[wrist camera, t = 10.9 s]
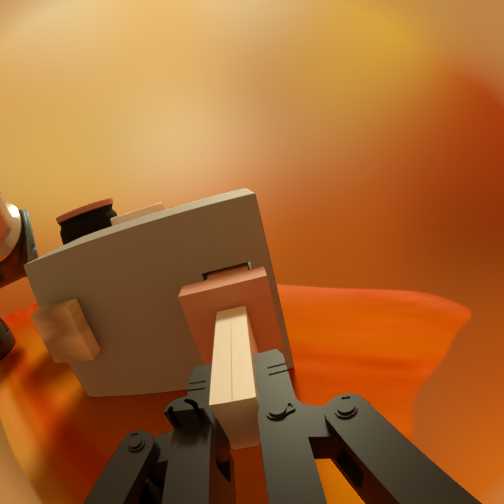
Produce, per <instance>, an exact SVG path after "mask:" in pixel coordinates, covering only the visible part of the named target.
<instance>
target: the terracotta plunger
mask: <svg viewBox="0 0 504 504" xmlns="http://www.w3.org/2000/svg"><path fill="white" fill-rule="evenodd" d="M178 298H179V301H180V303H181V306H182V309H183V312H184V314H185V317H186V320H187V322H188V325H189V327H190V330H191V333H192V335H193V338H194V340H195V343H196V345H197V348H198V350H199V352H200V355H201V357H202V360H203V362H204V364H205V365H208V364H212V359H213V348H214V336H215V326H216V315H217V312H219V311H224V310H228V309H232V308H237V307H241V306H245V307H246V310H247V314H248V317H249V321H250V324H251V328H252V331H253V335H254V338H255V342H256V345H257V350H258V353H262V352H266V351H270V350H274V349H277V350H278V351H280V350H284V347H283V342H282V338H281V334H280V329H279V325H278V321H277V316H276V312H275V308H274V303H273V299H272V295H271V290H270V286H269V282H268V278H267V274H266V271H265V269H264V266H262V267H258V268H254V269H250V268H249V264H248V262H246V263H242V264H238V265H234V266H230V267H226V268H222V269H218V270H214V271H210V272H208V275H207V280H205V281H201V282H197V283H193V284H189V285H185V286H182V289H181V291H180V294H179V296H178Z"/></svg>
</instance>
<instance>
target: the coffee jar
mask: <svg viewBox="0 0 504 504" xmlns="http://www.w3.org/2000/svg"><path fill="white" fill-rule="evenodd" d="M112 204H113V200H112V198H109V199H105V200H101V201H98V202H94V203H91V204H88V205H85V206H83V207H80V208H77V209H75V210H72V211H70V212H67V213H65V214H63V215H61V216H59V217H58V218H56V220H57V223H58V224H59V225H60V226H61V232H60V235H61V238H62V242H63V245H65V244H68V243H70V242H72V241H74V240H76V239H78V238H81V237H83V236H85V235H88V234H91V233H94V232H97V231H99V230H102V229H105V228H108V227H111V226H112V223H111V220H110V219H111V218H113V217H116V216H117V214H116V212H115V211H114V210H112Z"/></svg>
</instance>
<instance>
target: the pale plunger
mask: <svg viewBox="0 0 504 504" xmlns="http://www.w3.org/2000/svg"><path fill="white" fill-rule="evenodd" d="M31 317H32V320H33V322H34V324H35V326H36V328H37V330H38V332H39V334H40V336H41V338H42V340H43V342H44V344H45V346H46V347H47V349H48V351H49V353H50V355H51V356H52V358H53V360H54V362H55V363H62V362H75V361H86V360H94V359H95V357H96V356H97V354H98V353H99V351H100V350H101V349H100V347H99V345H98V343H97V341H96V339H95V337H94V335H93V333H92V331H91V329H90V327H89V325H88V323H87V321H86V318H85V316H84V314H83V312H82V310H81V307H80V305H79V303H78V300H77V298H76V299H72V300H68V301H64V302H60V303H56V304H51V305H47V306H43V307H39V308H38V309H37V310H36V311H35V312H33V313H32V314H31Z"/></svg>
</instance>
